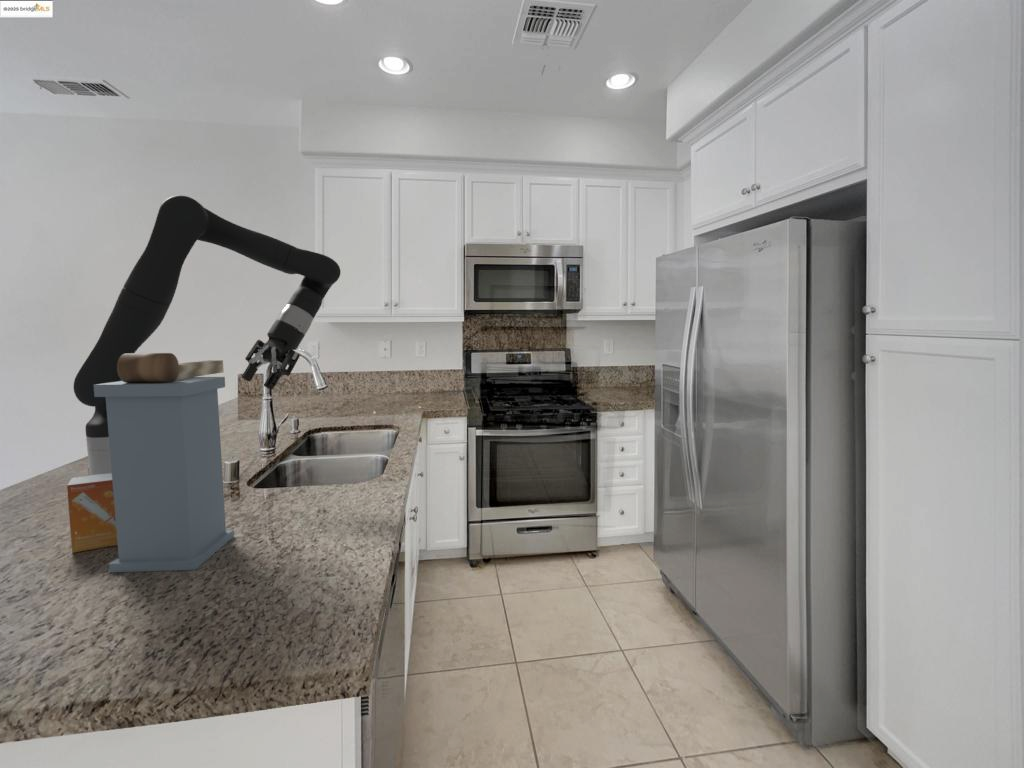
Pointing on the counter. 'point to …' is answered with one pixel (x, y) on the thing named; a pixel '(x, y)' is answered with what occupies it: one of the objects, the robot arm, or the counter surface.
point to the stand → (166, 473)
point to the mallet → (162, 368)
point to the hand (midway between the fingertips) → (256, 383)
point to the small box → (91, 512)
